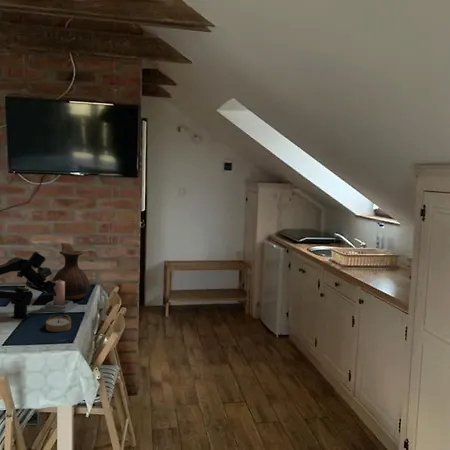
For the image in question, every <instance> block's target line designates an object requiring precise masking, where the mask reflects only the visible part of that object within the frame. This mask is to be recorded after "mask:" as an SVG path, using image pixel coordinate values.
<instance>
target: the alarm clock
mask: <svg viewBox="0 0 450 450" xmlns="http://www.w3.org/2000/svg"><path fill="white" fill-rule="evenodd" d="M71 328H72V319H71V317H70V315H67V314H64V315H59V316H58V315H51V316H49V317H48V319H46V321H45V330H46V331H49V332H52V333H53V332H54V333H55V332H56V333H59V332H67V331H68V330H70V329H71Z"/></svg>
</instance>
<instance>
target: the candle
mask: <svg viewBox="0 0 450 450" xmlns="http://www.w3.org/2000/svg"><path fill="white" fill-rule="evenodd" d="M54 282H55V283H56V285H55V286H54V290H55V292H56V294H57V295H56V296H53V300H54V305H59V306H64V305H65V301H66V300H65V281H60V279H59V281H54Z"/></svg>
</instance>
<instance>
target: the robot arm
mask: <svg viewBox="0 0 450 450" xmlns="http://www.w3.org/2000/svg"><path fill="white" fill-rule="evenodd" d="M46 260H47V259H46V257H45V256H43V255H42V254H40V253H39V252H37V251H33V253H32V255H31V256H30V257H29V259H26V258H22V257H18V256H15V257H12V258H10V259H9V260H8V261H7V262H5V263H3V264H0V276H2V275H4V274H7V273H10V272H17V274H16V277H17V278H25V280H26V282H25V286H26V287H27V288H26V287H22V286H20V287H18V286H14V289H0V299H9V300H10V304H12V305H13V315H12V316H10V318H11V319H22V320H23V319H25V318H27V317H29V316H30V315H31V314H30V313H28V306H30V305H31V301H32V299H33V297H34V294H33V292H32V291H31V290H35V291H37V292H41V293H43V294H48V295H51V296H53V297H54V296H56V295H57V294H56V292H55V290H54V286H55V285H56V283H55V282H54V281H52V280H50V279H49V280H47V277H50V276H51V275H52V274H53V273H52V270H51V269H50V267H45V266H44V267H42V265H43V264H44V263H45V261H46ZM35 269H37V270H35ZM46 280H47V281H46ZM30 289H31V290H30Z"/></svg>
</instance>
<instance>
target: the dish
mask: <svg viewBox="0 0 450 450" xmlns="http://www.w3.org/2000/svg"><path fill="white" fill-rule="evenodd" d="M78 305H79V304H78V303H76V302H75V303H74V300H65V305H64V306H59V305H54V299H53V300H51V301H49V302H46V303H45V305H43V306H41V307H39V308H40V309H39V311H44V312H54V313H62V314H63V313H64V314H65V313H68V312H69V311H71V310H72V309H75V308H77V307H78Z"/></svg>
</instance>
